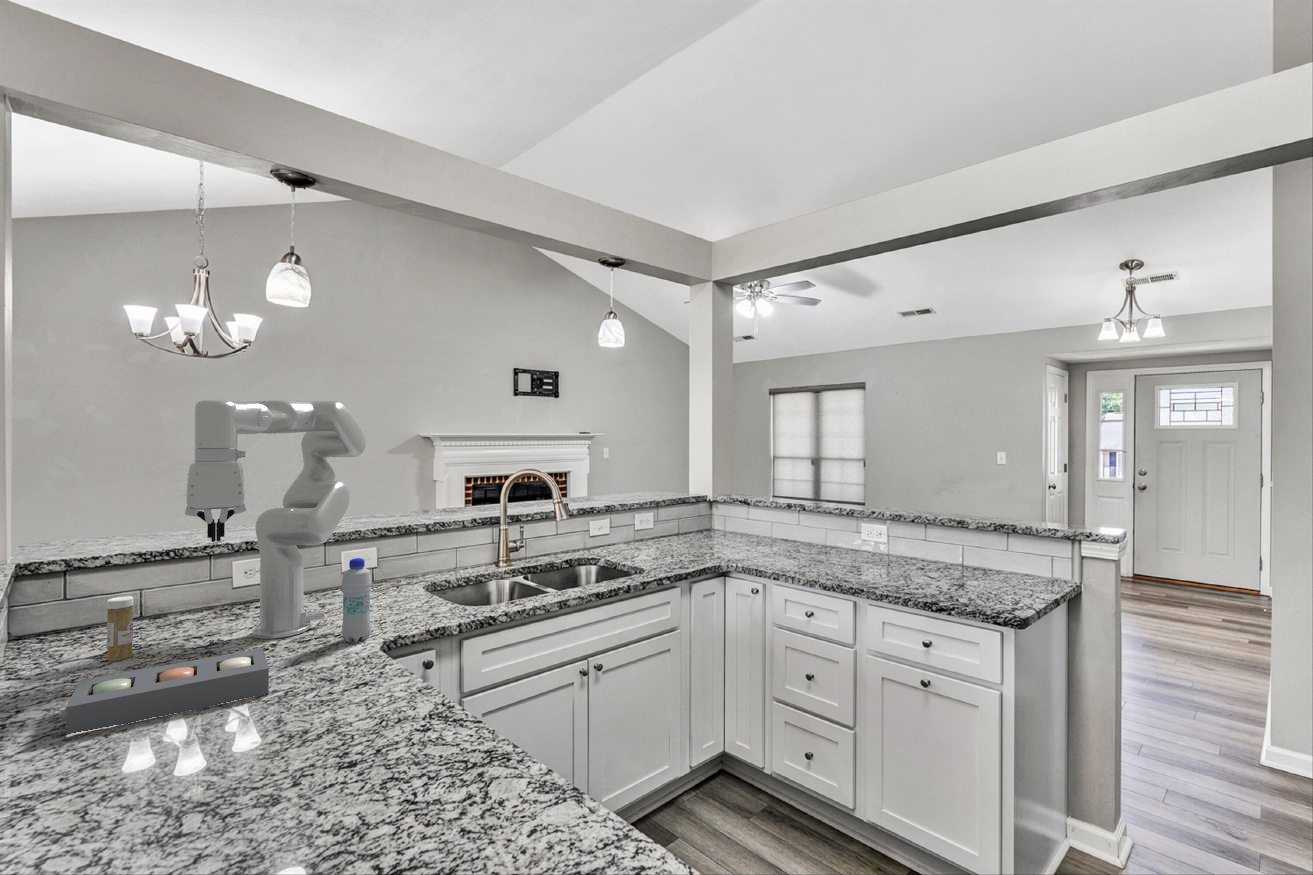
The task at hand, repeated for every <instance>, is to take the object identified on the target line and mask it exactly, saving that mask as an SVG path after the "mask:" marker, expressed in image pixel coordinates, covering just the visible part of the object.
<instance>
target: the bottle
mask: <svg viewBox="0 0 1313 875" xmlns="http://www.w3.org/2000/svg"><path fill="white" fill-rule="evenodd" d="M365 565H366V564H365V559H363V558H361V557H356V558H352V559H350V560H349V562H348V566H349V569H347V570H346V571H344V572H343V573H342V580H341V585H340V586H341V593H342V625H341V635H342V636H341V637H342V640H344V641H345V642H347V643H351V642H352V639H353V641H354V643H357V642H359V639H360V640H361V641H365V640H366V639H368V638H369V636H370V634H371V625H372V624H371V613H370V612H371V611H370V610H371V609H370V608H371V605H370V604H371V599H370V598H371V590H372V582H373V581H372V578H371V571H370V570H369V569H368V568H365ZM367 637H368V638H367Z"/></svg>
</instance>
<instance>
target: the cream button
mask: <svg viewBox="0 0 1313 875" xmlns="http://www.w3.org/2000/svg"><path fill="white" fill-rule="evenodd" d="M249 665H251V658H249V657H238V658H232V659H228V660H225V661H223V662H221V663H220V671H222V670H228V669H233V668H238V667H244V666H249Z"/></svg>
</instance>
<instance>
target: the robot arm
mask: <svg viewBox="0 0 1313 875" xmlns="http://www.w3.org/2000/svg"><path fill="white" fill-rule="evenodd" d="M291 433H292V434H293V433H294V434H295V433H304V434H303V437H302V439H301V442H300V443H301V452H302V459H303V461H302V462H303V467H302V469H301V472H299V474H298V475H297V477H296V478H295V480H294V481H293V482H292V483H291V485H290V486H289V488H288V489H287V491H285V493H284V495H283V498H282V506H283V507H275V508H274V507H273V508H270V509H267V510H265V511H263V512H262V513H261V514H260V515H259V516H258V518H257V519H256V523H255V534H256V539H257V543H258V548H259V549H258V550H259V564H260V567H259V568H260V569H259V576H260V577H259V626H257V627H255V628H254V629H253V630H252V634H251V636H252V637H254V638H255V639H260V640H261V639H263V640H265V639H266V640H269V639H272V640H273V639H279V638H287V637H292V636H297V635H300V634H302V633H304V632H306V631H308V630H309V629H310V628H311V621H315V620H316V621H318V620H324V619H325V612H324V611H322V610H321V611H317V610H315V611H309V612H308V611H306V609H305V608H304V606H305V605H304V602H305V600H304V598H305V597H304V594H305V593H304V591H305V590H304V589H305V586H304V585H305V582H304V581H305V580H304V578H305V576H304V574H305V570H304V569H305V562H304V557H303V554H302V552H301V551H300V549H299V548H298V546H320V545H323V544H324V543H326V542H327V541H328V540H329V539H330V538H331V536H332V535H333V533H334V532H335V530H336V528H337V527H338V526H339V524H340V522H341V520H342V519H343V517H344V515H345V514H346V511H347V510H348V508H349V505H350V501H351V500H350V499H351V492H350V489H349V487H348V485H346V483H345V482H342V481H341V480H340V481H339V480H335V477H336V473H335V470H334V468H333V467H332V466H331V464H330V463H329V462H328V458H356V457H359V456H360V455H362V454H363V453H364V451H365V450H366V446H367V445H366V444H367V443H366V436H365V434H364V432H363V431H362V429H361V426H360V425H359V423H357V420H356V419H355V417H354V416H353V414H352V413H351V411H350V410H349V409H348V408H347V407H346V406H345V405H344V404H343V403H341V402H340V401H338V400H285V399H284V400H283V399H281V400H261V401H231V400H219V399H205V400H199V401H198V402H197V403H195V407H194V462H193V463H190V464H189V467H188V473H187V481H186V482H187V483H186V508H185V511H184V514H185V515H186V516H191V517H198V518H200V519H201V520H202V521H203V522H205V523H206V524H207V533H206V534H207V539H211V540H210V541H211V543H214V542H221V538H225V528H226V527H225V523H226V522H227V521H228V520H229V519H230V518H232V516H234V515H237V514H242V513H244V512H246V511H247V509H246V505H245V504H246V503H245V497H246V496H245V480H244V479H245V478H244V470H243V465H242V462H238V460H239V459H241V458H246V451H242V450H239V449H238V435H256V434H265V435H266V434H269V435H271V434H275V435H276V434H291ZM212 510H220V513H219V517H218V519H217V522H216V521H215V519H214V518H213V512H212Z"/></svg>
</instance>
